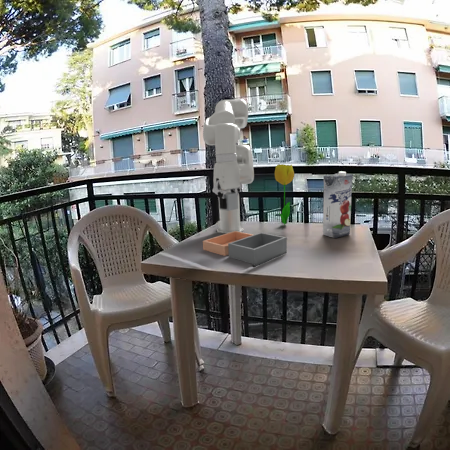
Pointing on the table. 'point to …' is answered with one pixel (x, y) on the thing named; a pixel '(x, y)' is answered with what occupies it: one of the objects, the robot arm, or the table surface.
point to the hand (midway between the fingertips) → (228, 206)
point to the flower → (284, 176)
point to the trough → (223, 242)
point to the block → (231, 201)
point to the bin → (258, 248)
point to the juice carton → (337, 204)
